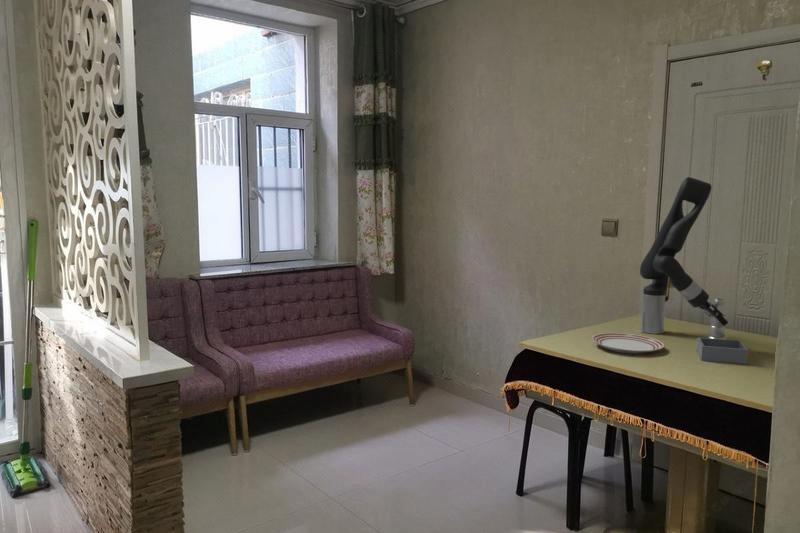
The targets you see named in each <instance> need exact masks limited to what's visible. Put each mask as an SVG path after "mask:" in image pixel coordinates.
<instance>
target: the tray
mask: <svg viewBox="0 0 800 533" xmlns="http://www.w3.org/2000/svg"><path fill="white" fill-rule="evenodd" d="M696 340H697V341H696V345H697V346H696V352H697V355H698V356H699V358H700V361H702V362H714V363H723V364H724V363H726V364H737V365H738V364H739V365H746V364H747V365H748V358H749V349H748V348H747V346H745V344H744V343H743V342H742V341H741V340H739V339H727V338H725V339H713V338H708V337H697V339H696Z"/></svg>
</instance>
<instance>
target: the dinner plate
mask: <svg viewBox="0 0 800 533" xmlns="http://www.w3.org/2000/svg"><path fill="white" fill-rule="evenodd" d="M591 340H592V341H593V342H594V343H595V344H597V345H598V346H600V347H603V348H605V349H606V350H609V351H611V352H616V353H622V354H631V355H632V354H633V355H634V354H637V355H638V354H647V353H651V352H656V351H659V350H662V349H664V347H665V344H664V343H663V342H662V341H660V340H658V339H656V338H653V337H650V336H646V335H639V334H632V333H625V332H624V333H623V332H603V333H598V334H597V333H596V334H595V335H593V336H592V337H591Z"/></svg>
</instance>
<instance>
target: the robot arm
mask: <svg viewBox="0 0 800 533" xmlns="http://www.w3.org/2000/svg"><path fill="white" fill-rule="evenodd" d="M711 192H712V184H711V183H710V182H709V183H708V182H706V181H703V180H700V179H697V178H693V177H691V176H690V177H689V176H687V177H685V178H684V180H683V181H682V182H681V184H680V186H679V188H678V190H677V192H676V196H675V198H674V201H673V203H672V205H671V207H670V210H669V211H668V214H667V216H666V218H665V219H664V222H663V223H662V225H661V227H660V229H659V232H658V233H657V235H656V238H655V240H654V242H653V244H652V246H651V247H650V249H649V250H648V251H647V253H646V256H645V257H644V258H643V259H642V261H641V264H640V268H639V273H640V276H641V278H642V279H645V280H653V281H652V282H651V283H650V284H649V285H646V286H644V288H643V291H642V293H643V294H642V295H643V296H642V309H641V326H640V327H641V328H640V330H641V333H646V334H655V335H656V334H657V335H658V334H659V335H660V334H664V329H665V310H666V293H667V289H668V285H669V282H670V284H671V285H672V286H673V288H674V289H676V290H677V291H678V293H679V294H680V295H681V296H682V297H683V299H684V300H686V301H687V302H688V303H689V304H690V305H691V307H693V308H695V309H696V308H699V309H700V311H702V312H703V313H704V314H705V315H707V316H708V317H710V315H711V316H714V317H715V318H716V319H717V320H718V321H719V322H720V323H721V324H722V325H724V326H725V327H726V325H727V324H729V321H728V320H727V319H725V318H724V317H723V314H722V313H721V312H720V311H719V310H718V309H717V308H716V307H715V306H714V305H715V304H714V303H712V302H711V301H710V302H709V301H708V299H710V295H709V294H708V292H706V291H705V289H703V287H702V286H700V284H698V283H697V281H695V280H694V279H693V278H692V277H691V276H690V275H689V274H688V273H687V272H686V271H685V270H684V268H683V266H682V265H681V263H680V262H679V261H678V260H677V259H676V258H675V257H676V254H677V253H680V252H681V251H682V250H683V247H684V245H685V243H686V240H687V238H688V235H689V233H690V231H691V229H692V227H693V225H694V224H695V223H696V221H697V219H698V218H699V216H700V214H701V212H702V210H703V208H704V206H705V204H706V203H707V201H708V199H709V197H710V194H711ZM684 201H685V202H688V203H691V204H694V207H693V208H692V209H691V210H690V212H689V213H687V214H686V215H684V208H683V202H684ZM716 313H718V314H719V315H716Z"/></svg>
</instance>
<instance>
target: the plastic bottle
mask: <svg viewBox="0 0 800 533" xmlns="http://www.w3.org/2000/svg"><path fill="white" fill-rule="evenodd" d="M713 305H714V306H715V307H716V308H717V309H718V310H719V311H720V312H721V313H722V314H723V317H724V318H725V319H726V320H727V318H728V312H729V311H728V310H727V308H726V307H725V299H724V298H716V297H715V298H714V301H713ZM716 315H719V314H718V313H716ZM709 318H710V325H709V326H710V327H709V328H710V329H709V335H708V337H707V338H713V339H726V325H725V326H724V325H722V324H721V323H720V322H719V321H718V320H717V319H716V318H715V317H714V316H711V315H710V316H709Z"/></svg>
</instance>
